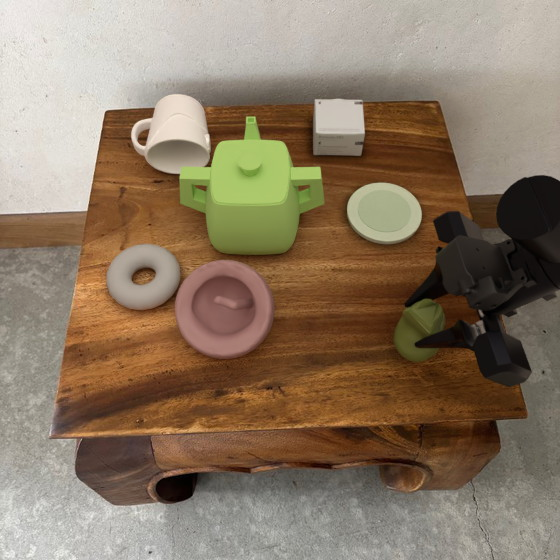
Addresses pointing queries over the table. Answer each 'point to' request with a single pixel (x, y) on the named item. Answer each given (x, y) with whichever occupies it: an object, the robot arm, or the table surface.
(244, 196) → the teapot
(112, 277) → the donut
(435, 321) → the olive green lumpy piece
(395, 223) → the plate
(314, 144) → the small box
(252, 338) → the mortar and pestle
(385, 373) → the table surface
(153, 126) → the mug
